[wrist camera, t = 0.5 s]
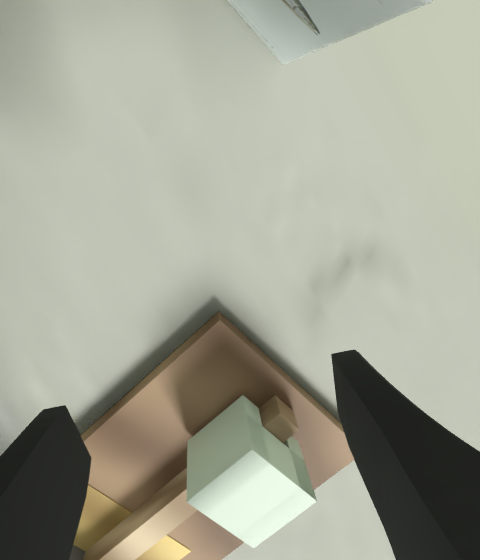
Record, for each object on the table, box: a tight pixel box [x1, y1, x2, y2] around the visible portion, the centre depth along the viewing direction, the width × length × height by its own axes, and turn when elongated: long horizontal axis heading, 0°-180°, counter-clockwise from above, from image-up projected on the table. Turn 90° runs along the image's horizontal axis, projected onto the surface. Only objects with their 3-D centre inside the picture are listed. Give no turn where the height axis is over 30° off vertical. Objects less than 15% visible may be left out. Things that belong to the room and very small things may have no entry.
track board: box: [69, 312, 354, 560], centre depth 24 cm, size 18×12×4 cm, turn 133°
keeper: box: [186, 395, 317, 548], centre depth 22 cm, size 4×4×4 cm
